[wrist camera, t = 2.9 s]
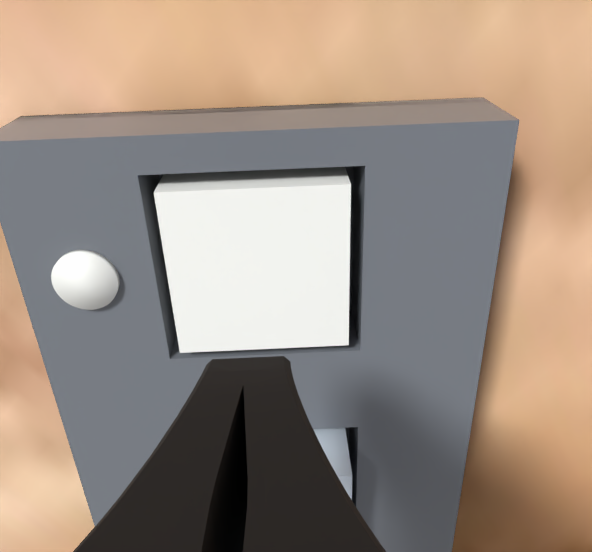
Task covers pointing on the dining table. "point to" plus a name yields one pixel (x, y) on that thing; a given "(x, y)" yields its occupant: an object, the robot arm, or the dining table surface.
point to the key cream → (257, 257)
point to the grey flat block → (304, 360)
